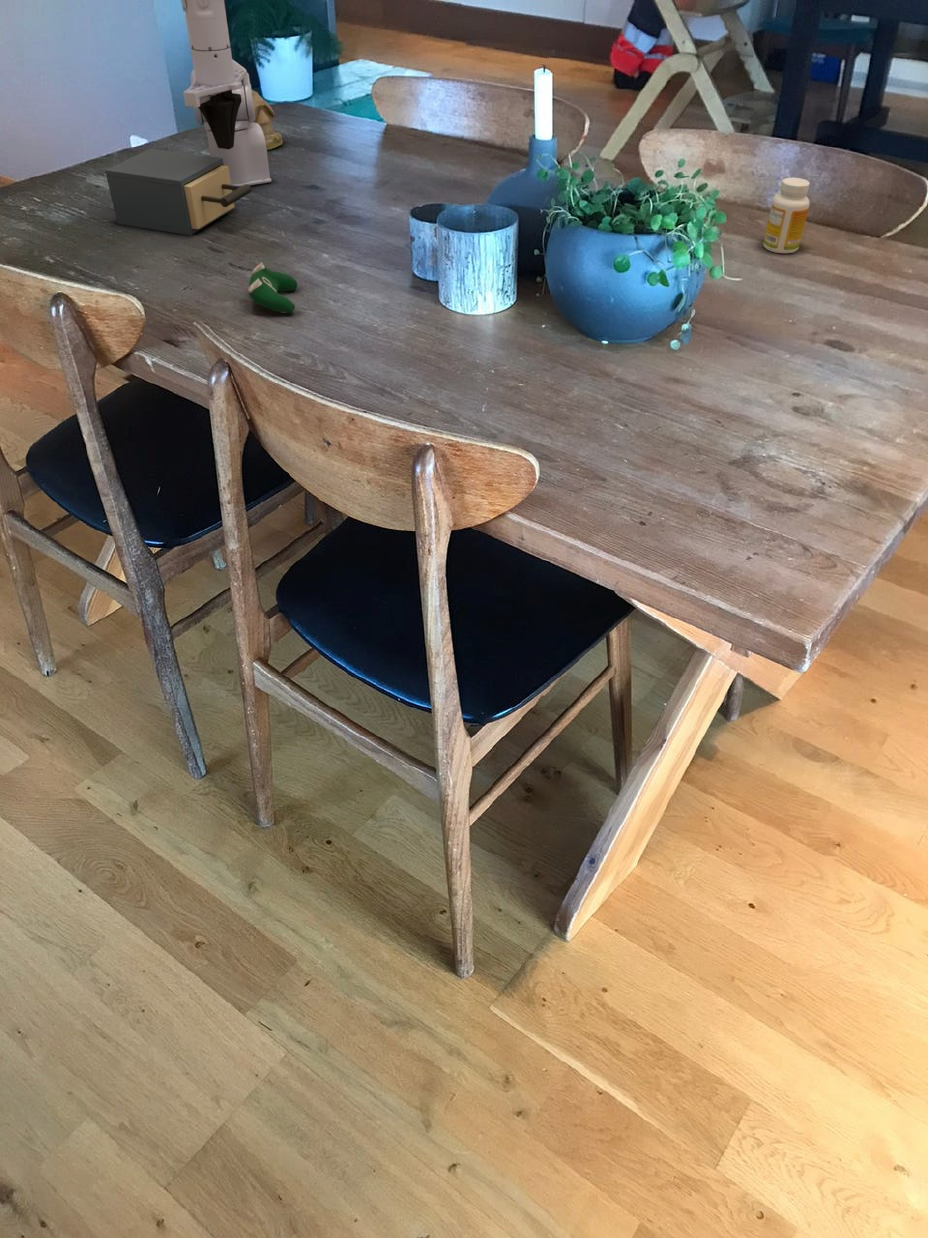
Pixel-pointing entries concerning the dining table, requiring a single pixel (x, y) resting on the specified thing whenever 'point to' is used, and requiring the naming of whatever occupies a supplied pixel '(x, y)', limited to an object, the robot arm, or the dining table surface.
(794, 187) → the supplement bottle
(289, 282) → the green fabric slippers
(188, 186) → the drawer
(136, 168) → the cabinet
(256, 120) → the ceramic model
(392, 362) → the dining table surface
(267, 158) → the robot arm
